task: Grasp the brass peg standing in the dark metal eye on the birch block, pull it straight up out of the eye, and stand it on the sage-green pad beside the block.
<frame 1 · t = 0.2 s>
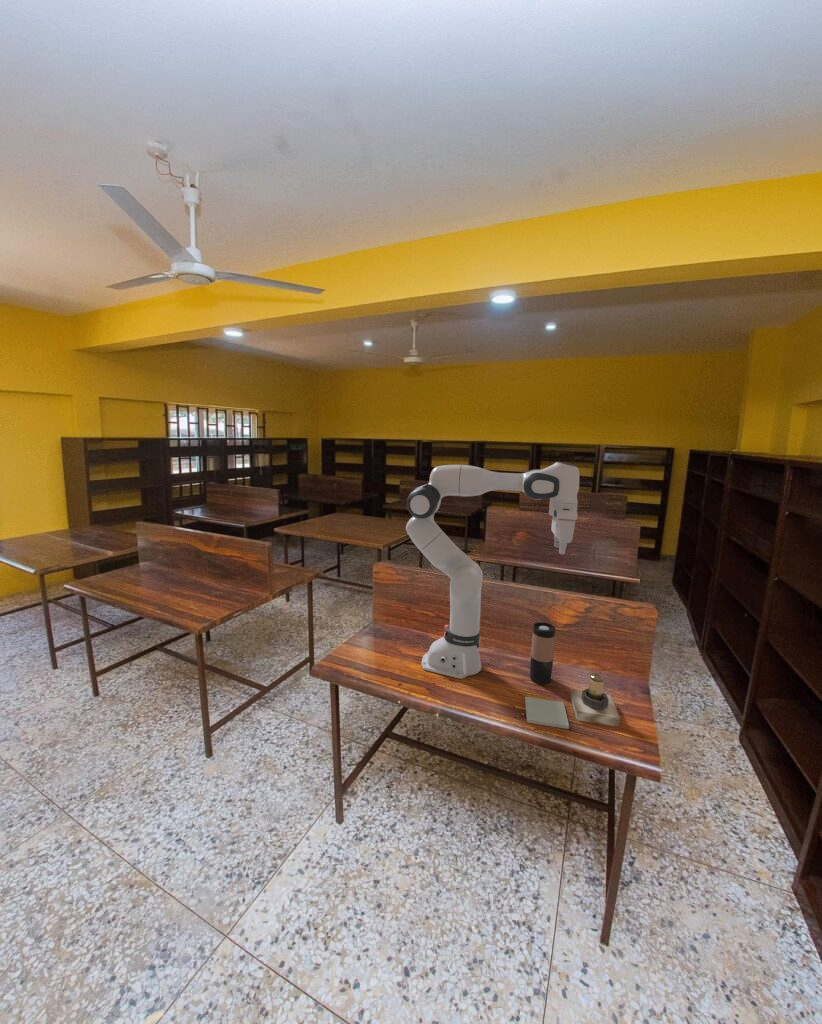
hand: (559, 550, 143), 47 cm above the table, fingers open, 8 cm apart
eye block: (593, 711, 132), on the table
travel mug: (540, 679, 150), on the table
brass peg: (594, 702, 132), point 3 cm above the table, touching eye block
sage pad: (545, 713, 130), on the table
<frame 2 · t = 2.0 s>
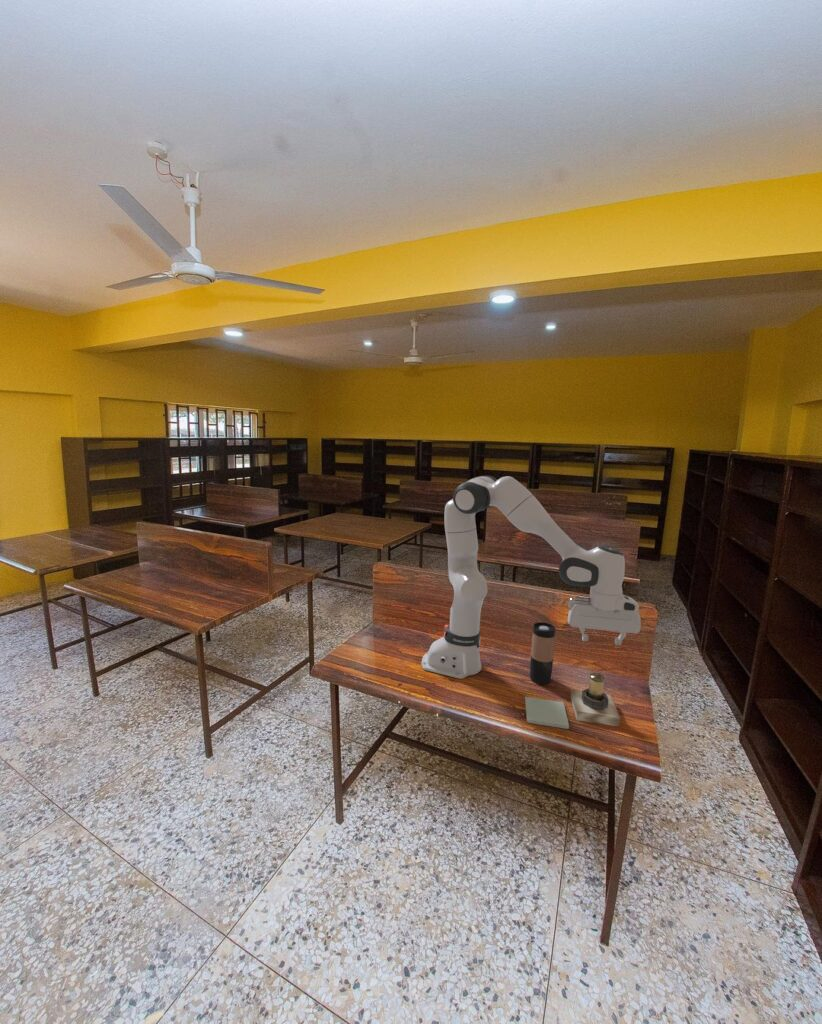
hand: (601, 642, 128), 23 cm above the table, fingers open, 8 cm apart
nothing on the table moved.
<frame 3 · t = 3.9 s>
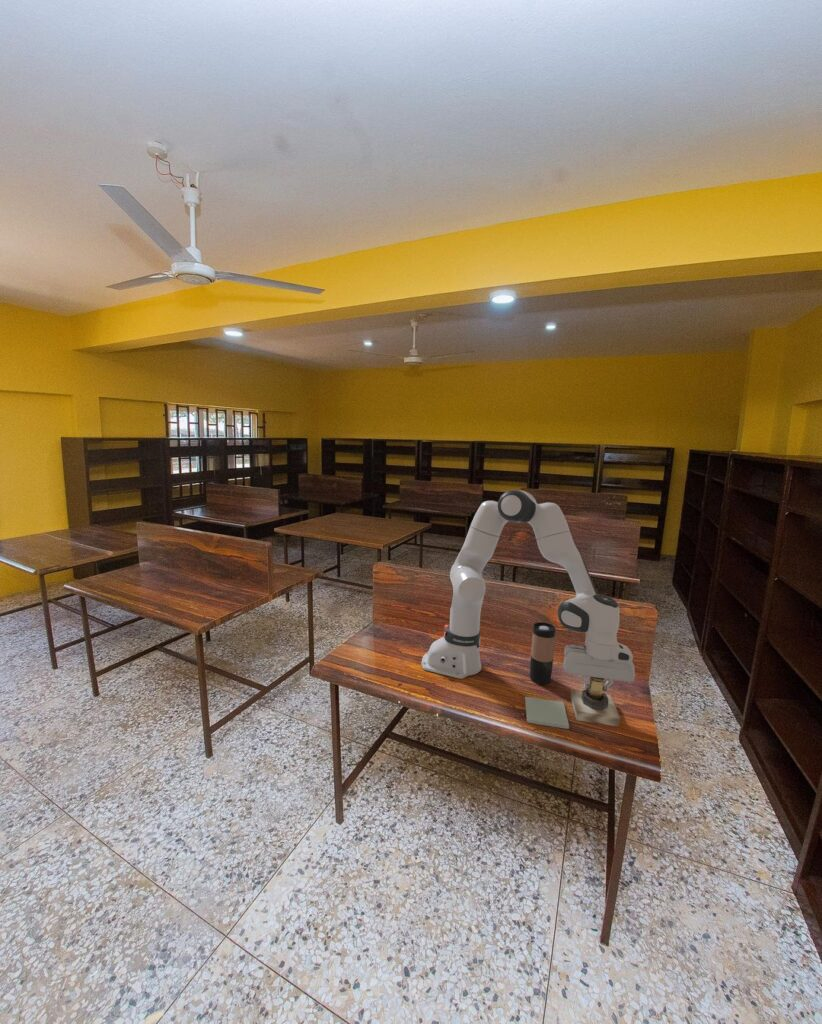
hand: (595, 689, 131), 8 cm above the table, fingers closed on brass peg, 4 cm apart
brass peg: (594, 702, 132), point 3 cm above the table, touching eye block, gripper
everything else where it was.
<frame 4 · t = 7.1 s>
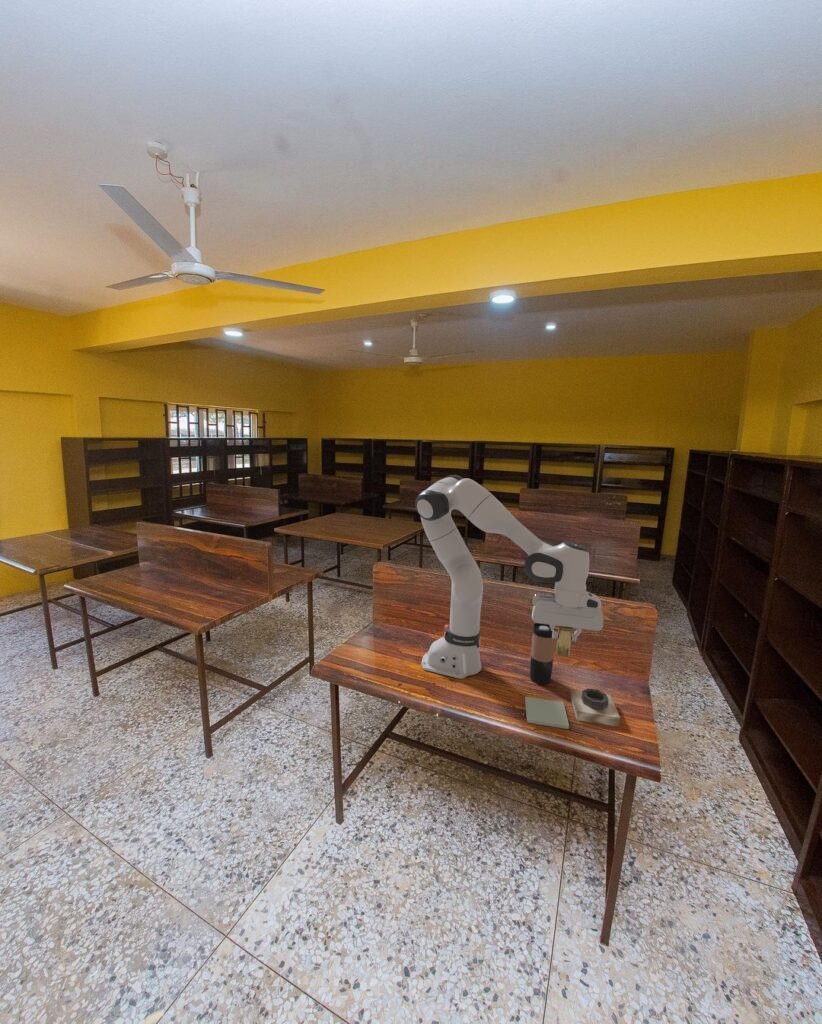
hand: (564, 639, 127), 24 cm above the table, fingers closed on brass peg, 4 cm apart
brass peg: (562, 653, 128), point 20 cm above the table, touching gripper
everything else where it was.
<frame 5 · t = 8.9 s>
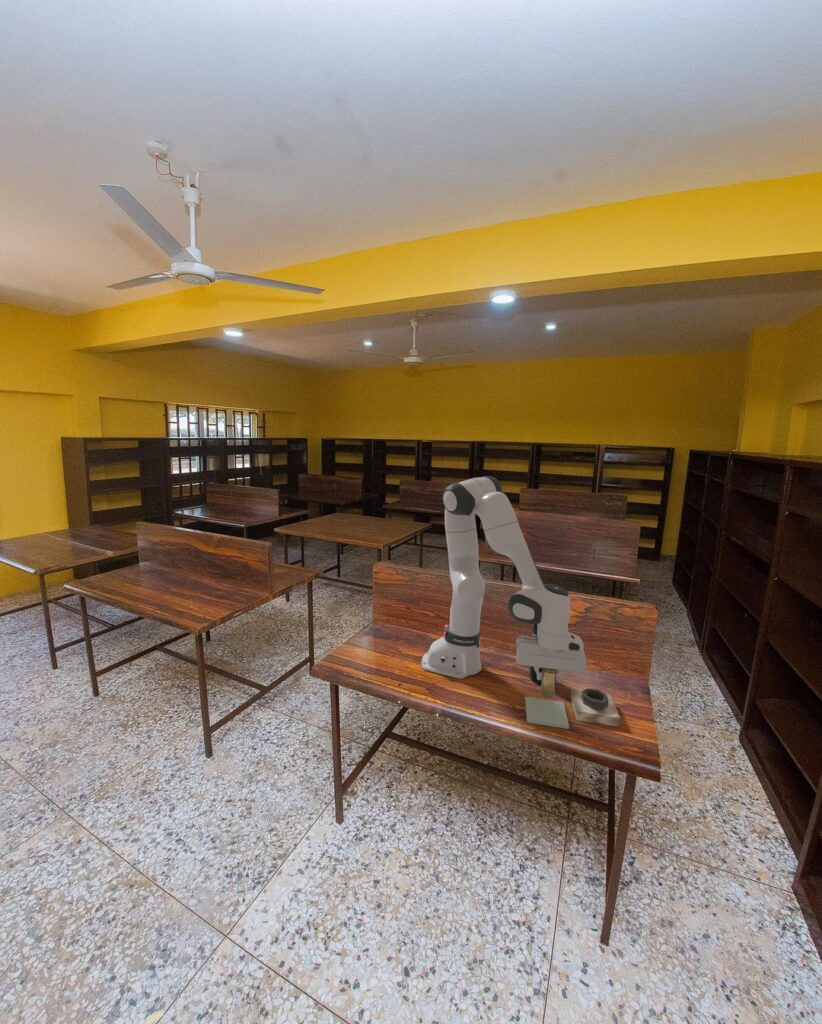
hand: (548, 680, 128), 11 cm above the table, fingers closed on brass peg, 4 cm apart
brass peg: (547, 694, 129), point 7 cm above the table, touching gripper
everything else where it was.
when the fingers open (7 cm above the table, at t = 10.2 s): brass peg stays where it is, resting on sage pad.
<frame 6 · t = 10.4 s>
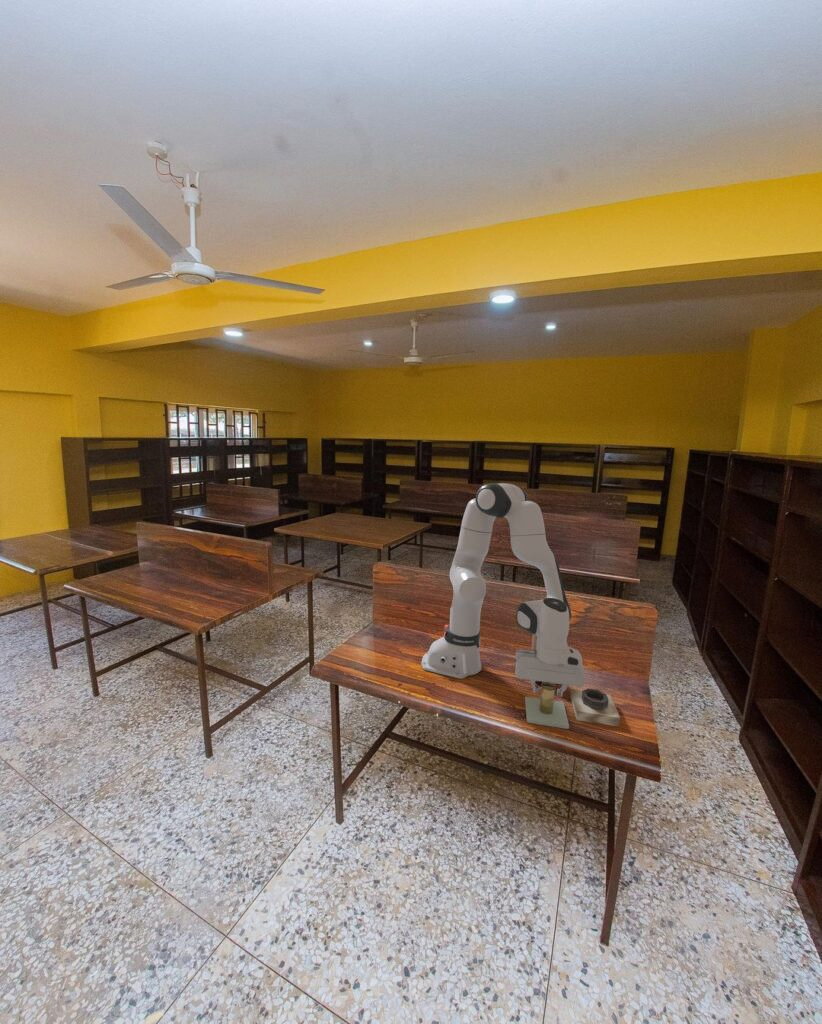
hand: (547, 693, 129), 7 cm above the table, fingers open, 6 cm apart
brass peg: (545, 710, 130), point 1 cm above the table, touching sage pad
everything else where it was.
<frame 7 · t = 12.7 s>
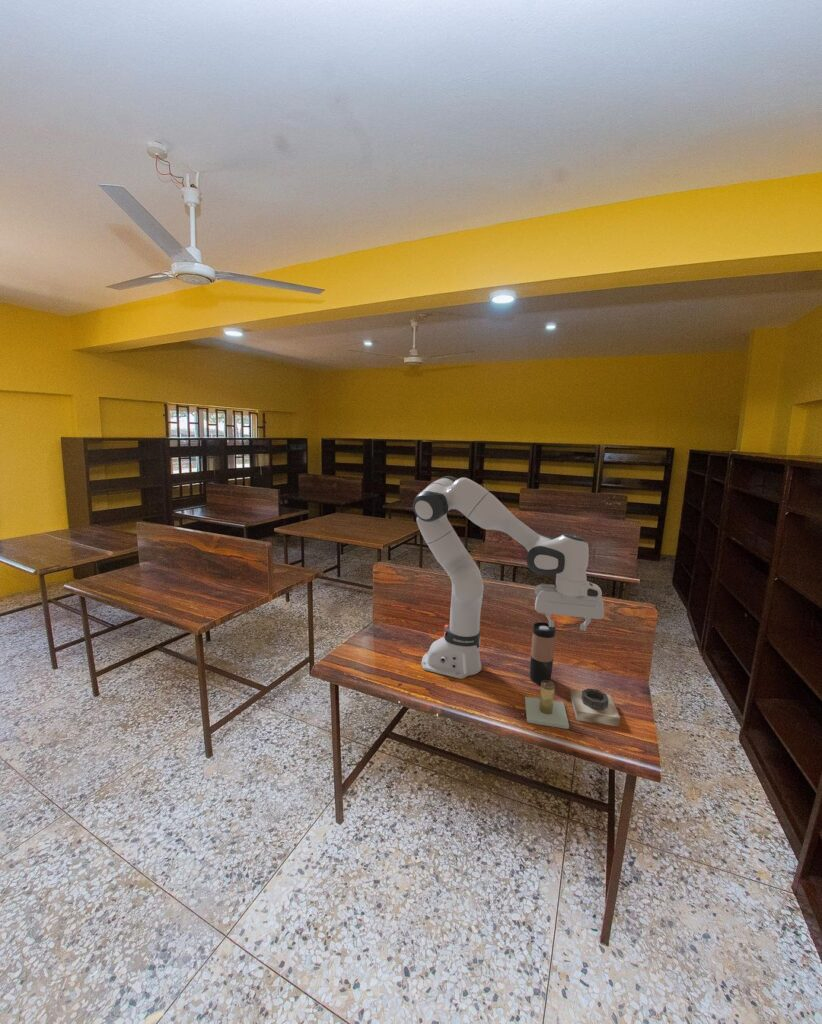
hand: (566, 628, 132), 26 cm above the table, fingers open, 8 cm apart
nothing on the table moved.
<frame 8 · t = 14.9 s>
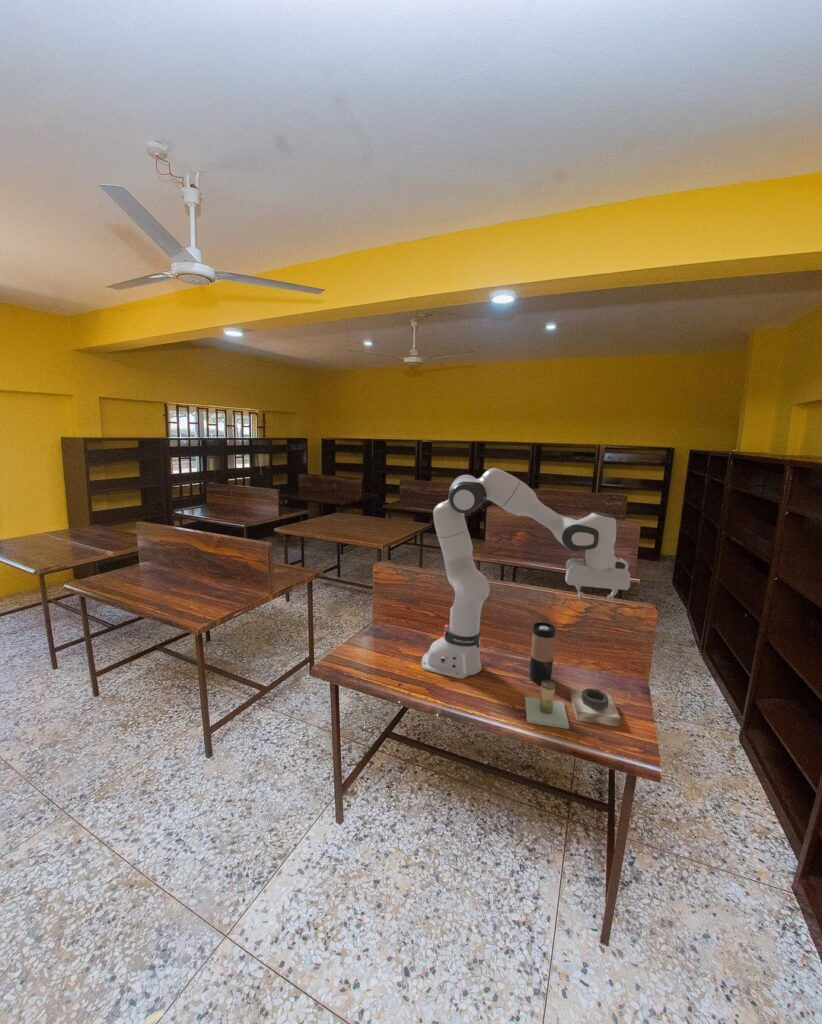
hand: (595, 599, 143), 31 cm above the table, fingers open, 8 cm apart
nothing on the table moved.
at the end: brass peg inside the target area on the sage pad (0.1 cm from its centre), point 1.0 cm above the sage pad's base; brass peg tilted 0°; the gripper is holding nothing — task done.
